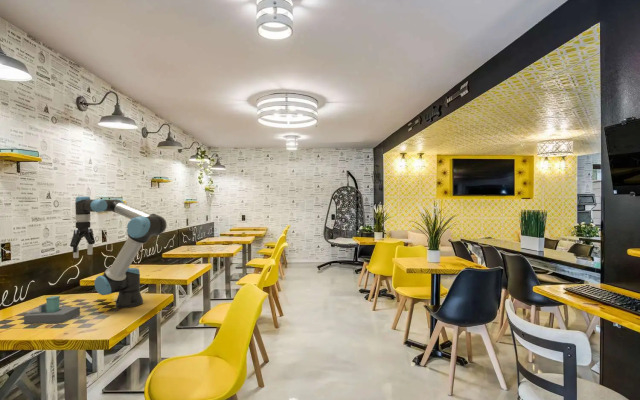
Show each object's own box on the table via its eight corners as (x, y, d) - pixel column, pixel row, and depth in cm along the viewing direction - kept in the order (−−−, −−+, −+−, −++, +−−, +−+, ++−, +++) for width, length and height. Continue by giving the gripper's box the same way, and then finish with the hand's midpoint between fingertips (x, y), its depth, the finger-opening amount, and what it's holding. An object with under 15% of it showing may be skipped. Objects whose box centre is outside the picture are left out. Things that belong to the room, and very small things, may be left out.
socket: (79, 314, 198) (79, 306, 198) (63, 322, 184) (63, 314, 184) (43, 315, 197) (43, 307, 197) (24, 324, 183) (24, 315, 183)
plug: (59, 315, 193) (59, 296, 193) (54, 318, 188) (54, 298, 188) (51, 315, 192) (51, 296, 193) (45, 318, 188) (45, 298, 188)
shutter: (51, 308, 194) (51, 301, 194) (41, 312, 186) (41, 305, 187) (37, 308, 194) (37, 302, 194) (26, 313, 186) (26, 306, 186)
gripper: (89, 220, 223) (89, 253, 223) (62, 222, 199) (62, 259, 198) (101, 220, 224) (101, 253, 224) (76, 222, 199) (76, 259, 199)
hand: (83, 256), depth 211 cm, fingers open, 13 cm apart
